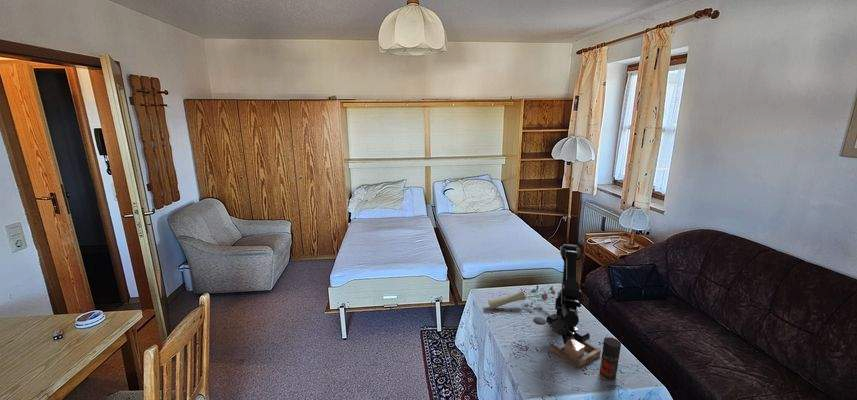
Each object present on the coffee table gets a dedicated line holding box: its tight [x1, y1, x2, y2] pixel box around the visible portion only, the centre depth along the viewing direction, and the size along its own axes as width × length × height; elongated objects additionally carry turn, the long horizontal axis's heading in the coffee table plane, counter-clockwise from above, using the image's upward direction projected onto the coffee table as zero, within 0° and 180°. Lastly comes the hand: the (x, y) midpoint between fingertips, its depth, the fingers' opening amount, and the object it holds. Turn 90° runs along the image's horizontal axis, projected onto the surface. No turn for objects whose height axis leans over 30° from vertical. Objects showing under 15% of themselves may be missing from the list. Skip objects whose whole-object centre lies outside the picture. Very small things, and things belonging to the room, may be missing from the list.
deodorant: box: [599, 336, 622, 381], centre depth 141 cm, size 6×6×15 cm
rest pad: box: [533, 316, 547, 325], centre depth 178 cm, size 6×6×1 cm
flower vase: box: [488, 284, 556, 310], centre depth 190 cm, size 12×12×35 cm
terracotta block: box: [563, 339, 586, 360], centre depth 155 cm, size 6×6×4 cm
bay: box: [550, 336, 602, 369], centre depth 155 cm, size 15×14×2 cm
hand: (565, 344), depth 159 cm, fingers closed
